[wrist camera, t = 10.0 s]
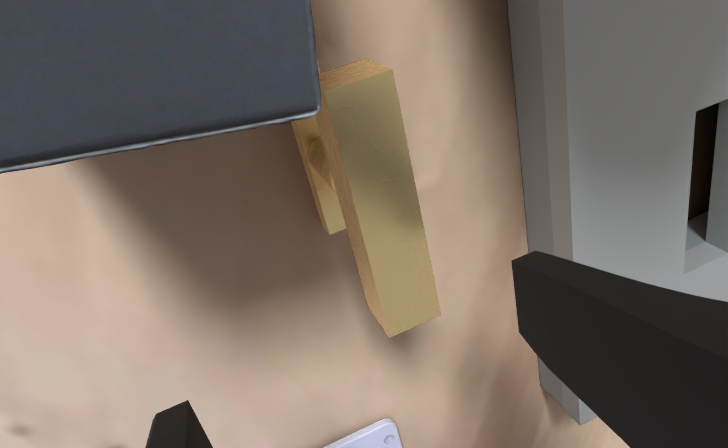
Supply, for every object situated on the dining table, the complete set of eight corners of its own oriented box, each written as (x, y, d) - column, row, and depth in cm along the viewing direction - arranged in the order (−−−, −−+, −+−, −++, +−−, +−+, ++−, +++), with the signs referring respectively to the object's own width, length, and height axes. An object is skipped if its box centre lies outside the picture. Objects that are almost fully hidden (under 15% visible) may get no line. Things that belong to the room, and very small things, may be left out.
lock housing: (747, 282, 32) (800, 310, 30) (540, 384, 29) (579, 425, 27) (806, -118, 22) (893, -129, 20) (504, -28, 19) (561, -26, 17)
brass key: (309, 35, 18) (392, 69, 12) (359, 222, 21) (441, 315, 16) (262, 50, 18) (324, 91, 12) (319, 237, 21) (389, 337, 15)
